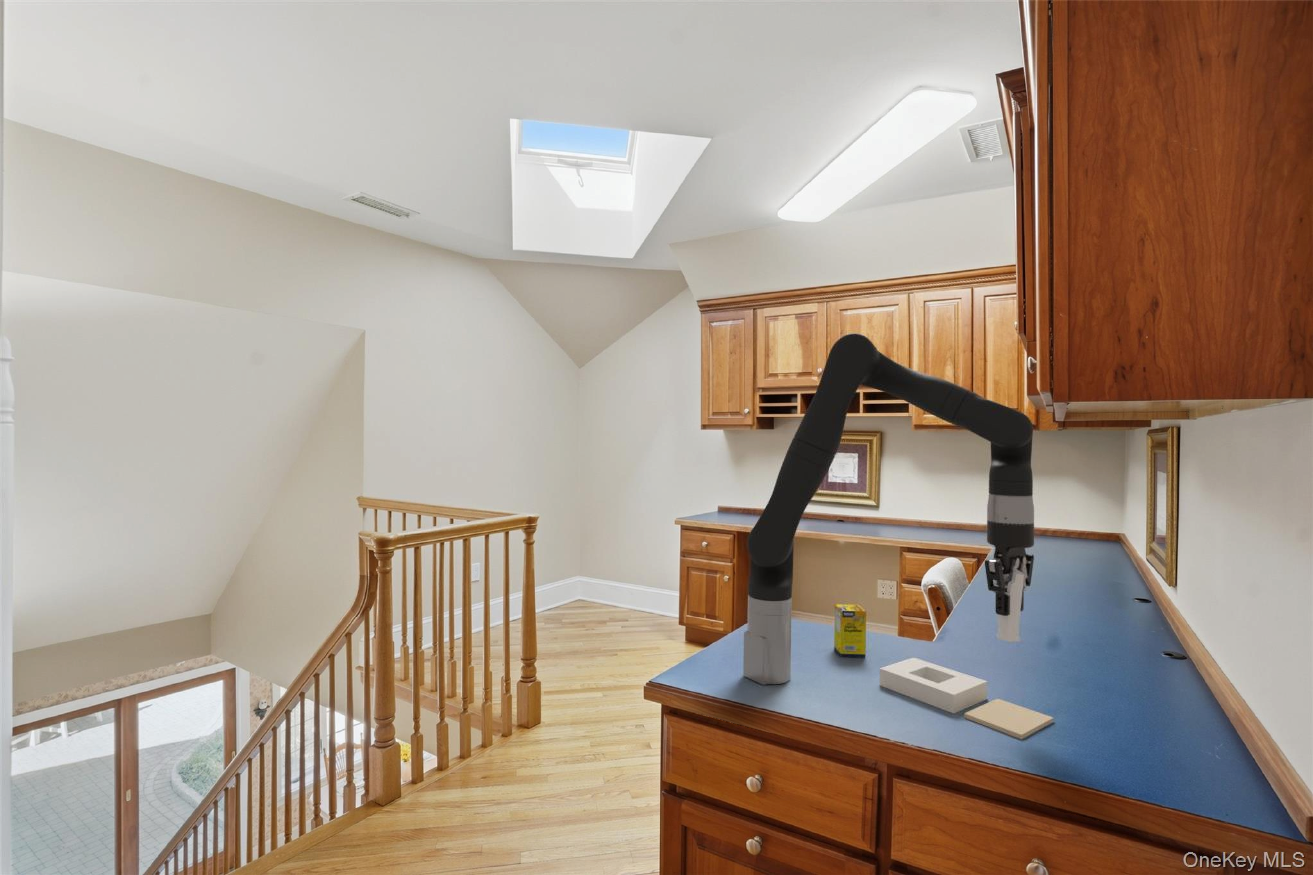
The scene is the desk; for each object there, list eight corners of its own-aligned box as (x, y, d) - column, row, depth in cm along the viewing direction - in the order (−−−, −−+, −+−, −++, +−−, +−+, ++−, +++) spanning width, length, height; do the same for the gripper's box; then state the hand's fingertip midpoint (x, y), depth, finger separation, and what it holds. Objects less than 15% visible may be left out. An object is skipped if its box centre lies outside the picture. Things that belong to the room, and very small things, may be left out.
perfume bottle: (993, 639, 114) (994, 557, 114) (995, 633, 118) (996, 553, 118) (1022, 644, 112) (1023, 560, 112) (1023, 638, 115) (1025, 556, 115)
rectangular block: (953, 713, 117) (954, 694, 117) (879, 685, 130) (879, 668, 130) (986, 698, 124) (987, 681, 124) (913, 673, 137) (913, 657, 137)
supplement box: (866, 657, 146) (866, 611, 146) (840, 657, 146) (841, 610, 146) (858, 649, 152) (859, 604, 152) (833, 648, 152) (834, 603, 152)
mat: (1021, 739, 107) (1021, 734, 107) (964, 717, 115) (964, 713, 115) (1053, 721, 114) (1053, 717, 114) (997, 702, 122) (997, 698, 122)
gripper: (1012, 524, 108) (1012, 624, 108) (1050, 519, 116) (1049, 611, 116) (969, 519, 114) (968, 614, 114) (1008, 514, 122) (1007, 602, 122)
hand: (1009, 612), depth 115 cm, fingers closed on perfume bottle, 4 cm apart
